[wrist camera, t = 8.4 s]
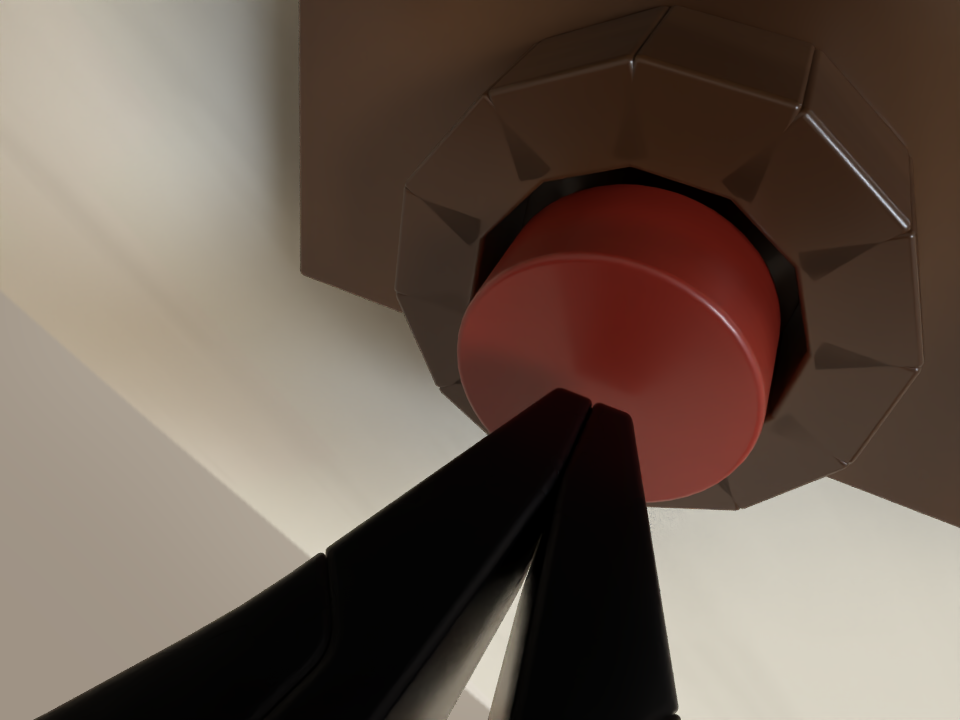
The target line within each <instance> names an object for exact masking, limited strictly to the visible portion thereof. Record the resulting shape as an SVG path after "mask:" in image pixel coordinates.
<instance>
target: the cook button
mask: <svg viewBox="0 0 960 720" xmlns="http://www.w3.org/2000/svg"><path fill="white" fill-rule="evenodd" d="M780 325H781V312H780V301H779V297H778V293H777V289H776V285H775V283H774V280H773V278H772V276H771V273H770V271H769V268H768V267H767V265H766V263H765V262H764V260H763V258H762V257H761V255H760V254H759V252H758V251H757V249H756V248H755V247H754V246H753V245H752V243H751V242H750V241H749V240H748V239H747V237H746V236H745V235H744V234H743V233H742V232H741V231H740V230H739V229H738V228H736V227H735V226H734V225H733V224H732V223H731V222H730V221H729V220H727V219H726V218H724V217H723V216H722V215H720V214H719V213H717V212H716V211H715V210H713V209H711V208H709V207H707V206H706V205H704V204H702V203H700V202H698V201H696V200H694V199H692V198H689V197H687V196H684V195H682V194H679V193H676V192H673V191H669V190H665V189H661V188H658V187H651V186H644V185H631V184H615V185H606V186H597V187H593V188H589V189H585V190H580V191H577V192H575V193H572V194H569V195H567V196H564V197H562V198H560V199H558V200H556V201H555V202H553V203H551V204H549V205H547V206H546V207H545V208H543V209H542V210H541V211H540V212H538V213H537V214H536V215H534V216H533V217H532V218H531V220H530V221H529V222H528V223H527V224H526V225H525V226H524V227H523V228H522V230H521V231H520V232H519V234H518V235H517V237H516V238H515V239H514V241H513V242H512V244H511V245H510V246H509V248H508V249H507V251H506V252H505V254H504V255H503V256H502V258H501V259H500V261H499V262H498V263H497V265H496V266H495V268H494V269H493V270H492V272H491V273H490V275H489V276H488V277H487V279H486V280H485V282H484V283H483V285H482V286H481V287H480V289H479V290H478V292H477V293H476V294H475V296H474V297H473V299H472V300H471V302H470V303H469V305H468V307H467V309H466V311H465V313H464V316H463V318H462V321H461V325H460V329H459V333H458V343H457V360H458V370H459V374H460V379H461V383H462V386H463V388H464V391H465V394H466V397H467V399H468V401H469V403H470V405H471V407H472V409H473V411H474V412H475V414H476V415H477V417H478V418H479V420H480V421H481V423H482V424H483V425H484V427H485V428H486V429H487V430H488V432H489V433H490V434H491V433H492V432H493V431H495V430H496V429H498V428H499V427H501V426H502V425H503V424H505V423H506V422H508V421H509V420H511V419H512V418H513V417H515V416H516V415H518V414H519V413H521V412H522V411H523V410H525V409H526V408H528V407H529V406H531V405H532V404H533V403H535V402H536V401H538V400H539V399H541V398H542V397H543V396H545V395H546V394H548V393H549V392H551V391H552V390H554V389H556V388H564V389H567V390H569V391H572V392H575V393H577V394H580V395H582V396H585V397H588V398H589V399H590V400H591V401H592V407H593V405H594V404H596V403H603V404H606V405H608V406H611V407H613V408H616V409H618V410H621V411H624V412H626V413H628V414H629V415H630V416H631V418H632V420H633V425H634V431H635V438H636V444H637V450H638V456H639V463H640V469H641V475H642V482H643V488H644V494H645V500H646V503H650V502H662V501H670V500H675V499H679V498H684V497H688V496H690V495H693V494H696V493H699V492H702V491H704V490H706V489H708V488H710V487H712V486H714V485H716V484H717V483H719V482H720V481H722V480H723V479H724V478H726V477H727V476H729V475H730V474H731V473H732V472H733V471H734V470H735V469H736V468H737V467H738V466H739V465H740V464H741V463H742V462H743V461H744V460H745V459H746V458H747V456H748V455H749V454H750V452H751V451H752V449H753V448H754V447H755V444H756V442H757V440H758V438H759V436H760V434H761V431H762V427H763V424H764V420H765V416H766V410H767V404H768V399H769V393H770V387H771V381H772V376H773V370H774V364H775V358H776V353H777V347H778V341H779V336H780Z"/></svg>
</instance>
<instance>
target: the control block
mask: <svg viewBox="0 0 960 720" xmlns="http://www.w3.org/2000/svg"><path fill="white" fill-rule="evenodd" d="M299 129H300V271H301V274H303V275H305V276H307V277H310V278H312V279H315V280H317V281H320V282H323V283H325V284H328V285H330V286H333V287H336V288H338V289H341V290H343V291H346V292H349V293H351V294H354V295H356V296H359V297H362V298H364V299H367V300H369V301H372V302H375V303H377V304H380V305H382V306H385V307H388V308H390V309H393V310H395V311H398V312H401V313H403V314H404V316H405V318H406V320H407V322H408V324H409V327H410V329H411V331H412V333H413V336H414V338H415V340H416V342H417V344H418V347H419V349H420V351H421V353H422V355H423V358H424V360H425V362H426V364H427V367H428V369H429V371H430V373H431V375H432V378H433V380H434V382H435V384H436V385H437V386H438V387H440V389H439V390H440V391H441V393H442V394H444V395H445V396H446V397H447V398H448V399H449V400H450V401H451V402H452V403H453V404H455V405H456V406H457V407H458V408H459V409H460V410H461V411H462V412H463V413H464V414H465V415H467V416H468V417H469V418H470V419H471V420H472V421H473V422H474V423H475V424H476V425H478V426H479V427H480V428H481V429H482V430H483V431H484V432H485V433H486V434H487V435H489V434H490V433H489V432H488V430H487V429H486V428H485V427H484V425H483V424H482V423H481V421H480V420H479V418H478V417H477V415H476V414H475V412H474V411H473V409H472V407H471V405H470V403H469V401H468V399H467V397H466V394H465V391H464V388H463V386H462V383H461V379H460V374H459V370H458V360H457V343H458V333H459V329H460V325H461V321H462V318H463V316H464V313H465V311H466V309H467V307H468V305H469V303H470V302H471V300H472V299H473V297H474V296H475V294H476V293H477V292H478V290H479V289H480V287H481V286H482V285H483V283H484V282H485V280H486V279H487V277H488V276H489V275H490V273H491V272H492V270H493V269H494V268H495V266H496V265H497V263H498V262H499V261H500V259H501V258H502V256H503V255H504V254H505V252H506V251H507V249H508V248H509V246H510V245H511V244H512V242H513V241H514V239H515V238H516V237H517V235H518V234H519V232H520V231H521V230H522V228H523V227H524V226H525V225H526V224H527V223H528V222H529V221H530V220H531V218H532V217H533V216H534V215H536V214H537V213H538V212H540V211H541V210H542V209H543V208H545V207H546V206H547V205H549V204H551V203H553V202H555V201H556V200H558V199H560V198H562V197H564V196H567V195H569V194H572V193H575V192H577V191H580V190H585V189H589V188H593V187H597V186H606V185H615V184H631V185H644V186H651V187H658V188H661V189H665V190H669V191H673V192H676V193H679V194H682V195H684V196H687V197H689V198H692V199H694V200H696V201H698V202H700V203H702V204H704V205H706V206H707V207H709V208H711V209H713V210H715V211H716V212H717V213H719V214H720V215H722V216H723V217H724V218H726V219H727V220H729V221H730V222H731V223H732V224H733V225H734V226H735V227H736V228H738V229H739V230H740V231H741V232H742V233H743V234H744V235H745V236H746V237H747V239H748V240H749V241H750V242H751V243H752V245H753V246H754V247H755V248H756V249H757V251H758V252H759V254H760V255H761V257H762V258H763V260H764V262H765V263H766V265H767V267H768V268H769V271H770V273H771V276H772V278H773V280H774V283H775V285H776V289H777V293H778V297H779V301H780V312H781V325H780V336H779V341H778V347H777V353H776V358H775V364H774V370H773V376H772V381H771V387H770V393H769V399H768V404H767V410H766V416H765V420H764V424H763V427H762V431H761V434H760V436H759V438H758V440H757V442H756V444H755V447H754V448H753V449H752V451H751V452H750V454H749V455H748V456H747V458H746V459H745V460H744V461H743V462H742V463H741V464H740V465H739V466H738V467H737V468H736V469H735V470H734V471H733V472H732V473H731V474H730V475H729V476H727V477H726V478H724V479H723V480H722V481H720V482H719V483H717V484H716V485H714V486H712V487H710V488H708V489H706V490H704V491H702V492H699V493H696V494H693V495H690V496H688V497H684V498H679V499H675V500H670V501H662V502H650V503H646V507H660V508H685V509H710V510H735V511H736V510H739V509H740V508H741V509H745V508H747V507H750V506H752V505H755V504H757V503H760V502H762V501H765V500H768V499H770V498H773V497H775V496H778V495H780V494H783V493H785V492H788V491H790V490H793V489H795V488H798V487H800V486H803V485H805V484H808V483H810V482H813V481H816V480H818V479H821V478H823V477H826V476H827V477H829V478H832V479H834V480H837V481H840V482H842V483H845V484H847V485H850V486H852V487H855V488H858V489H860V490H863V491H865V492H868V493H871V494H873V495H876V496H878V497H881V498H884V499H886V500H889V501H891V502H894V503H897V504H899V505H902V506H904V507H907V508H910V509H912V510H915V511H917V512H920V513H923V514H925V515H928V516H930V517H933V518H936V519H938V520H941V521H943V522H946V523H949V524H951V525H954V526H956V527H959V528H960V0H299Z"/></svg>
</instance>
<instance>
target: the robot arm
mask: <svg viewBox="0 0 960 720" xmlns="http://www.w3.org/2000/svg"><path fill="white" fill-rule="evenodd" d="M529 568H530V569H529ZM528 570H529V572H528ZM527 572H528V575H527ZM526 575H527V577H526ZM525 577H526V580H525V583H524V586H523V589H522V593H521V596H520V600H519V603H518V606H517V610H516V614H515V618H514V622H513V626H512V629H511V633H510V637H509V641H508V645H507V648H506V652H505V656H504V660H503V664H502V668H501V671H500V675H499V679H498V683H497V687H496V691H495V694H494V698H493V702H492V706H491V710H490V713H489V718H488V720H681V718H680V717H679V716H678V715H677V714H675V713H676V712H677V710H678V701H677V695H676V689H675V683H674V676H673V670H672V664H671V657H670V651H669V645H668V639H667V632H666V626H665V620H664V613H663V607H662V601H661V595H660V588H659V582H658V576H657V569H656V563H655V557H654V551H653V544H652V538H651V532H650V525H649V519H648V513H647V507H646V500H645V494H644V488H643V482H642V475H641V469H640V463H639V456H638V450H637V444H636V438H635V431H634V425H633V420H632V418H631V416H630V415H629V414H628V413H626V412H624V411H621V410H618V409H616V408H613V407H611V406H608V405H606V404H603V403H596V404H594V405H593V407H592V401H591V400H590V399H589V398H588V397H585V396H582V395H580V394H577V393H575V392H572V391H569V390H567V389H564V388H556V389H554V390H552V391H551V392H549V393H548V394H546V395H545V396H543V397H542V398H541V399H539V400H538V401H536V402H535V403H533V404H532V405H531V406H529V407H528V408H526V409H525V410H523V411H522V412H521V413H519V414H518V415H516V416H515V417H513V418H512V419H511V420H509V421H508V422H506V423H505V424H503V425H502V426H501V427H499V428H498V429H496V430H495V431H493V432H492V433H491V434H489V435H488V436H486V437H485V438H483V439H482V440H481V441H479V442H478V443H476V444H475V445H473V446H472V447H470V448H469V449H468V450H466V451H465V452H463V453H462V454H460V455H459V456H458V457H456V458H455V459H453V460H452V461H450V462H449V463H448V464H446V465H445V466H443V467H442V468H440V469H439V470H438V471H436V472H435V473H433V474H432V475H430V476H429V477H428V478H426V479H425V480H423V481H422V482H420V483H419V484H418V485H416V486H415V487H413V488H412V489H410V490H409V491H408V492H406V493H405V494H403V495H402V496H400V497H399V498H398V499H396V500H395V501H393V502H392V503H390V504H389V505H387V506H386V507H385V508H383V509H382V510H380V511H379V512H377V513H376V514H375V515H373V516H372V517H370V518H369V519H367V520H366V521H365V522H363V523H362V524H360V525H359V526H357V527H356V528H355V529H353V530H352V531H350V532H349V533H347V534H346V535H345V536H343V537H342V538H340V539H339V540H337V541H336V542H335V543H333V544H332V545H330V546H329V547H328V548H327V549H326V555H325V554H324V553H318V554H317V555H315V556H314V557H312V558H311V559H310V560H308V561H307V562H305V563H304V564H303V565H301V566H300V567H298V568H297V569H295V570H294V571H293V572H291V573H290V574H288V575H287V576H285V577H284V578H282V579H281V580H279V581H278V582H276V583H275V584H273V585H271V586H270V587H268V588H267V589H265V590H264V591H262V592H261V593H259V594H258V595H256V596H255V597H253V598H252V599H250V600H249V601H247V602H245V603H244V604H242V605H241V606H239V607H237V608H236V609H234V610H232V611H231V612H229V613H227V614H225V615H224V616H222V617H220V618H218V619H217V620H215V621H213V622H211V623H210V624H208V625H206V626H205V627H203V628H201V629H199V630H198V631H196V632H194V633H192V634H191V635H189V636H187V637H185V638H184V639H182V640H180V641H178V642H176V643H174V644H173V645H171V646H169V647H167V648H165V649H164V650H162V651H160V652H158V653H156V654H154V655H152V656H150V657H149V658H147V659H145V660H143V661H141V662H140V663H138V664H136V665H134V666H132V667H130V668H129V669H127V670H125V671H123V672H121V673H119V674H117V675H116V676H114V677H112V678H110V679H108V680H106V681H105V682H103V683H101V684H99V685H97V686H95V687H94V688H92V689H90V690H88V691H86V692H84V693H83V694H81V695H79V696H77V697H75V698H73V699H72V700H70V701H68V702H66V703H64V704H62V705H61V706H59V707H57V708H55V709H53V710H51V711H50V712H48V713H46V714H44V715H42V716H40V717H38V718H36V719H34V720H447V718H448V716H449V714H450V712H451V711H452V709H453V707H454V705H455V704H456V702H457V700H458V698H459V697H460V695H461V693H462V691H463V689H464V688H465V686H466V684H467V682H468V681H469V679H470V677H471V675H472V674H473V672H474V670H475V668H476V666H477V665H478V663H479V661H480V659H481V658H482V656H483V654H484V652H485V651H486V649H487V647H488V645H489V644H490V642H491V640H492V638H493V636H494V635H495V633H496V631H497V629H498V628H499V626H500V624H501V622H502V621H503V619H504V617H505V615H506V613H507V612H508V610H509V608H510V606H511V605H512V603H513V601H514V599H515V597H516V595H517V593H518V591H519V589H520V588H521V586H522V584H523V581H524V579H525Z"/></svg>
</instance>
